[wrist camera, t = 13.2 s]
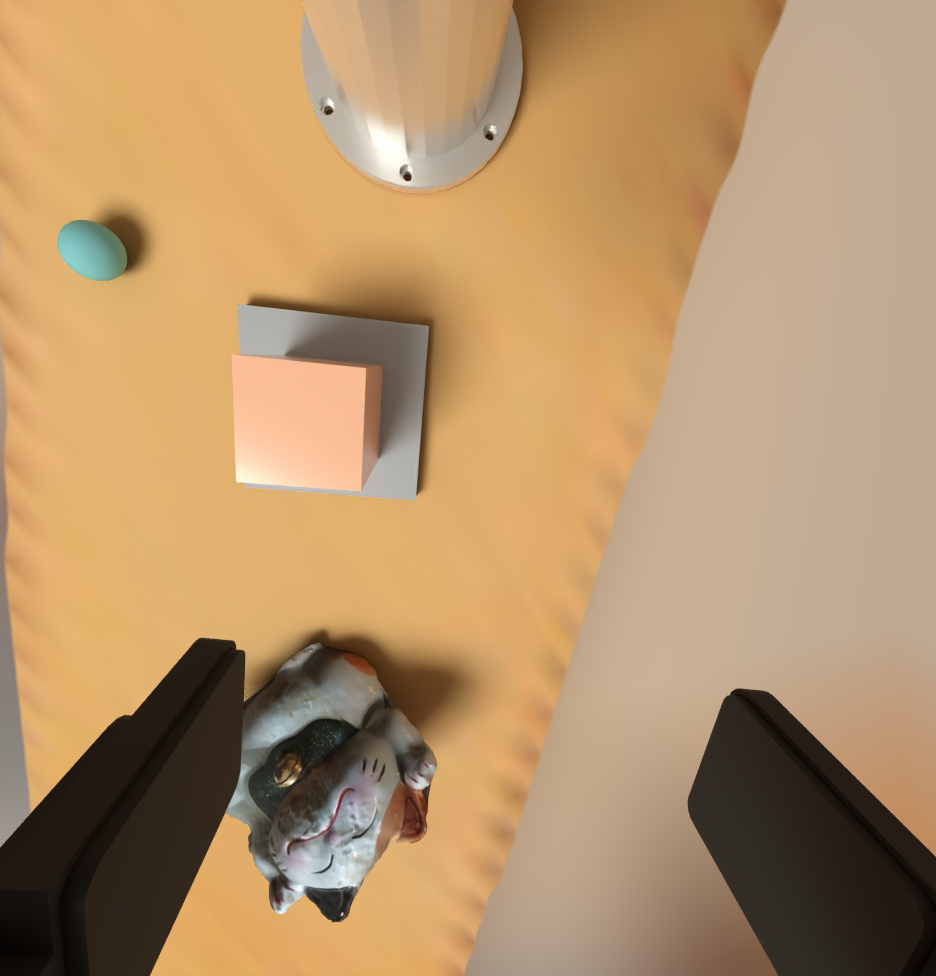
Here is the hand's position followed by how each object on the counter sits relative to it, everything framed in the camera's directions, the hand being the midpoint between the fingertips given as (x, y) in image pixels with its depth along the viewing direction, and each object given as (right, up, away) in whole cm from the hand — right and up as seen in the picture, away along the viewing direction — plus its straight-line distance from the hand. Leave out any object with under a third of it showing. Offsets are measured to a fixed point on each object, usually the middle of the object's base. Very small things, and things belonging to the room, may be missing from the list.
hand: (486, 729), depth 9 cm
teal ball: (-23, +19, +20) cm, 36 cm away
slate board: (-10, +10, +23) cm, 27 cm away
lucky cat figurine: (-12, -14, +30) cm, 36 cm away
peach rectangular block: (-9, +10, +22) cm, 26 cm away
